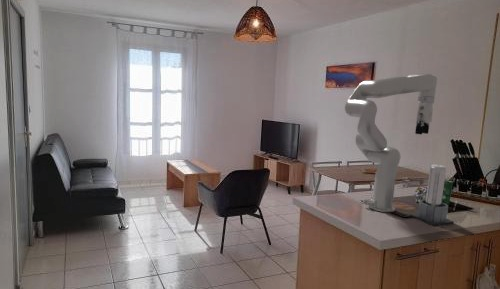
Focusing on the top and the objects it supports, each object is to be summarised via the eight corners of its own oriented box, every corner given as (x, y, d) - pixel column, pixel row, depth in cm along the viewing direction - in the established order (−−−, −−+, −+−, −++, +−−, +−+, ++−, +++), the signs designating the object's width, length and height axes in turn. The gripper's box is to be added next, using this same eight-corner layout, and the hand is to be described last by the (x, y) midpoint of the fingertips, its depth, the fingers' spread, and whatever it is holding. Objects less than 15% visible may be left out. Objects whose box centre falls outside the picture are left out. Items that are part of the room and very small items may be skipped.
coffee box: (449, 204, 198) (453, 181, 196) (449, 205, 195) (453, 181, 193) (433, 201, 202) (436, 178, 200) (433, 202, 199) (436, 179, 198)
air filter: (441, 219, 168) (449, 166, 164) (434, 221, 164) (441, 167, 161) (428, 214, 173) (435, 163, 170) (420, 216, 169) (427, 164, 166)
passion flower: (416, 211, 198) (408, 191, 203) (434, 208, 199) (426, 188, 204) (425, 206, 188) (417, 184, 193) (445, 202, 189) (436, 181, 194)
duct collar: (433, 226, 160) (435, 208, 159) (410, 216, 172) (412, 200, 171) (453, 223, 165) (456, 206, 164) (429, 214, 177) (431, 198, 176)
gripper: (428, 100, 174) (424, 135, 176) (438, 101, 187) (434, 133, 189) (412, 99, 179) (408, 133, 181) (423, 100, 192) (419, 132, 194)
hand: (421, 133), depth 185 cm, fingers open, 9 cm apart
